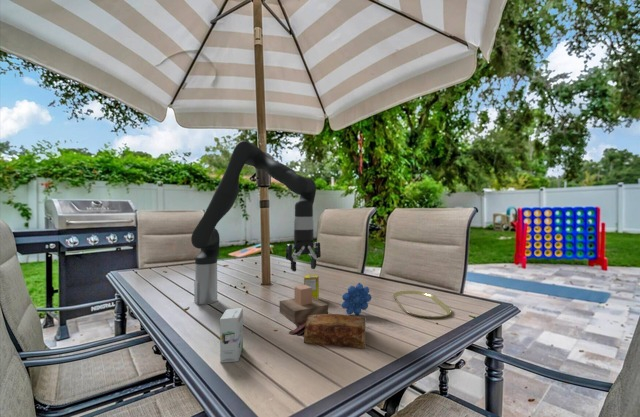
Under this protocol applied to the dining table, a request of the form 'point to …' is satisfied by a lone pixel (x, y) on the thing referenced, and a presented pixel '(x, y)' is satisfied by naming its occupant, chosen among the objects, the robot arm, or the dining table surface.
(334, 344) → the cured meat
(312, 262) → the robot arm
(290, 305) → the walnut block
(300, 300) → the terracotta block
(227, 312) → the ink box
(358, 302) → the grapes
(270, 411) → the dining table surface
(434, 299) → the yellow oval ring
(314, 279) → the supplement box
